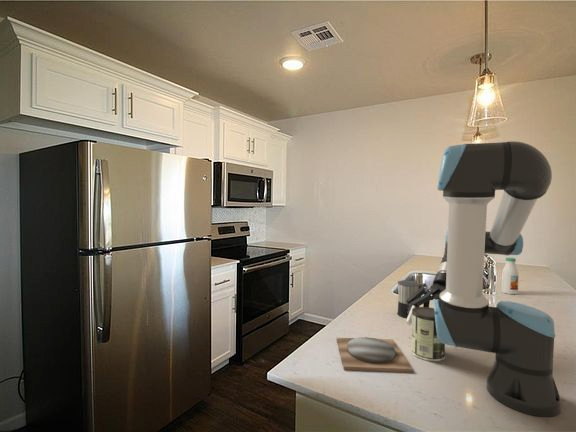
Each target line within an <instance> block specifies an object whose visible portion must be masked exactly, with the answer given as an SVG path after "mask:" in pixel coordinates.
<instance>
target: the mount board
mask: <svg viewBox="0 0 576 432" xmlns="http://www.w3.org/2000/svg"><path fill="white" fill-rule="evenodd" d="M336 343H337V344H336V345H337V347H338V352H339V353H338V354H339V355H340V360H341V364H342V368H343V370H344V371H365V372H369V371H371V372H392V373H393V372H394V373H413V371H414V370H413V367H412V366H411V364H410V363H409V361H408V359H406V356H404V354H403V352H402V351H401V349H400V348H399V347H398V345H397V343H396V342H395V340H394V339H392V338H391V339H390V338H389V339H387V338H375V337H367V336H364V337H336Z"/></svg>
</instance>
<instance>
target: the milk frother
mask: <svg viewBox="0 0 576 432" xmlns="http://www.w3.org/2000/svg"><path fill="white" fill-rule="evenodd" d="M397 284H398V285H397V286H398V289H397V291H398V294H397V296H398V297H397V298H398V299H397V301H398V302H397V316H399V317H401V318H404V319H407V317H408V313H407V311H408V309H409V305H408V304H407V302H406V300H407V299H408V298H409V297H410V296H411V295H413V294H414V293H415V292H416V291H417V290H418V289H420V288H421V286H422V285H421V284H420V283H419V282H418V281H415V280H405V279H403V280H398V281H397ZM429 291H430V290H428V292H429ZM425 294H427V292H426V293H425ZM425 294H424V295H425ZM430 301H431V300H429V301H428V302H426V303H424V304H422V307H428V308H430ZM418 307H420V306H418Z"/></svg>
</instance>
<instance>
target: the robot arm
mask: <svg viewBox="0 0 576 432" xmlns="http://www.w3.org/2000/svg"><path fill="white" fill-rule="evenodd" d="M440 163H441V164H440V169H439V174H438V180H437V187H436V189H437V191H440V192H442V198H443V199H444V200H445V201H446V202H447V203H448V220H447V222H448V224H447V231H446V236H445V243H444V245H445V247H444V252H443V253H444V254H443V257H442V259H441V262H440V264H439V267H438V269H437V270H436V271H437V272H436V274H435V276H434V279H433V281H432V284H431V285H427V284H426V283H422V286H421V288H420V289H418V290H417V291H416V292H415V293H414V294H413V295H411V296H410V297H409V298H408V299H407V300H406V302H407V304H408V305H409V309H408V311H407V313H408V317H407V318H406V320H405V322H406V324H407V325H408V326H411V327H412V309H413V308H416V307H418V306H419V307H421V305H422V306H423V304H424V303H426V302H428V301H429V300H430V301H433V308H434V312H435V323H436V331H437V337H438V340H439V341H440V342H441V343H443V344H445V345H448V346H452V347H455V348H462V349H469V350H473V351H480V352H485V353H491V354H495V360H494V363H493V365H492V367H491V369H490V371H489V373H488V375H487V378H486V390H487V392H488V393H489V395H490V396H492V397H493V398H494V399H496V401H498V402H499V403H501V404H503V405H504V406H505V407H506V406H507V407H509V408H511V409H512V410H516V411H519V412H522V413H523V414H528V415H532V416H536V417H537V416H538V417H554V416H557V415H558V414H560V413H561V411H562V399H561V397H560V393H559V391H558V388H557V385H556V382H555V378H554V376H553V374H554V372H553V371H554V370H553V369H554V350H555V348H554V347H555V338H556V333H555V322H554V319H553V318H552V316H550V315H549V314H548V313H546V312H544V311H542V310H540V309H538V308H535V307H533V306H530V305H527V304H524V303H519V302H514V301H508V300H500V301H499V302H497V304H496V306H489V305H490V304H489V303H490V302H489V299H487V297H486V296H485V295H483V293H484V292H483V289H484V287H483V286H484V271H485V269H484V268H485V254H486V255H489V254H490V255H501V256H502V255H503V256H520V255H521V253H523V249H524V238H523V235H522V234H521V233H522V231H523V229H524V227H525V225H526V223H527V221H528V218H529V217H530V214H531V213H532V211H533V209H534V206H535V205H536V203H537V201H538V199H541V198H542V197H543V196H545V194H547V191H548V190H549V187H550V186H551V182H552V180H553V179H552V176H553V174H552V166H551V165H550V162H549V161H548V159H547V157H546V156H545V155H544V154H543V152H541V151H540V150H539V149H538V148H536V147H534V146H533V145H531V144H528V143H525V142H522V141H517V140H516V141H513V140H511V141H500V142H481V143H479V142H478V143H462V144H455V145H449V146H448V147H446V148H445V149H444V151H443V153H442V157H441V162H440ZM496 191H503V193H502V196H501V199H500V202H499V204H498V209H497V210H496V214H495V217H494V220H493V222H492V225H491V228H490V231H487V230H486V229H487V211H488V210H487V209H488V208H487V207H488V204H489V203H490V202H491V201H493V199H495V197H496ZM428 290H429V292H428ZM426 292H427V294H425V293H426ZM424 294H425V295H424Z"/></svg>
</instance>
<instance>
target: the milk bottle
mask: <svg viewBox="0 0 576 432" xmlns="http://www.w3.org/2000/svg"><path fill="white" fill-rule="evenodd" d="M516 260H517V259H516V258H515V257H506V258H505V265H504V267H503V269H502V271H501V287H500V289H501V293H503V294H506V293H507V294H506V295H512V294H516V295H518V294H519V270H518V268H517V266H516V262H517V261H516Z"/></svg>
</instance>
